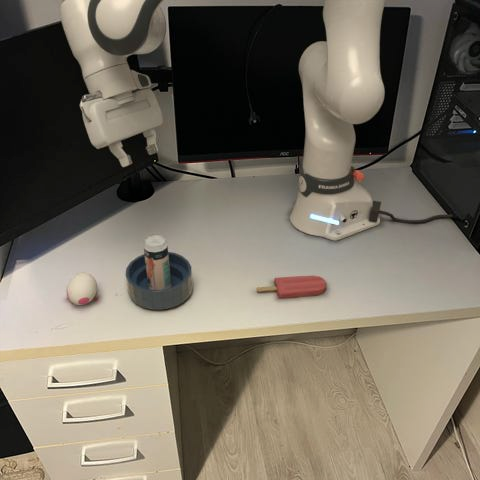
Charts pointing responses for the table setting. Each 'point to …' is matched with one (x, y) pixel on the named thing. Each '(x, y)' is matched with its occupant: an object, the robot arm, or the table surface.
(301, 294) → the popsicle
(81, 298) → the stress ball
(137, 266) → the bowl
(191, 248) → the table surface
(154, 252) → the white capped supplement bottle
